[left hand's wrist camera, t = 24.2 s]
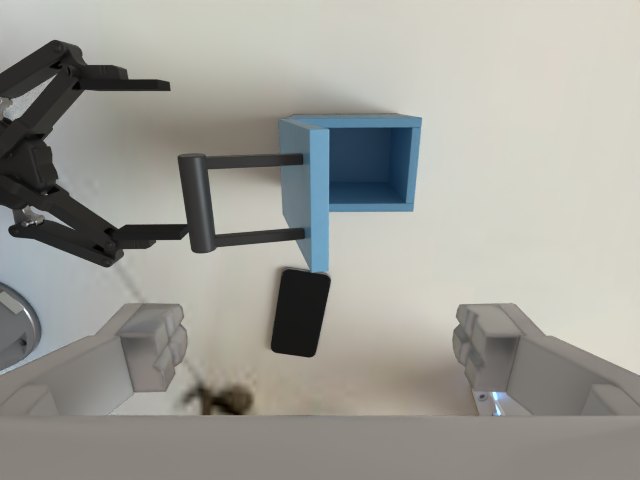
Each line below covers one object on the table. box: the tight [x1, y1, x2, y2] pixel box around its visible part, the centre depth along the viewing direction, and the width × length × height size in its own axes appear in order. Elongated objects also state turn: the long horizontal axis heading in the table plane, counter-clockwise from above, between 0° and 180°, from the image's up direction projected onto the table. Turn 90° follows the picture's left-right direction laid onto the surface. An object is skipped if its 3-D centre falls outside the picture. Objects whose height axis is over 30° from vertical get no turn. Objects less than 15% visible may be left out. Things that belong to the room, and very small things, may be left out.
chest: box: [286, 114, 422, 212], centre depth 40 cm, size 13×9×11 cm
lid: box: [178, 119, 329, 273], centre depth 27 cm, size 14×9×9 cm
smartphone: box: [271, 268, 331, 357], centre depth 54 cm, size 7×1×15 cm
